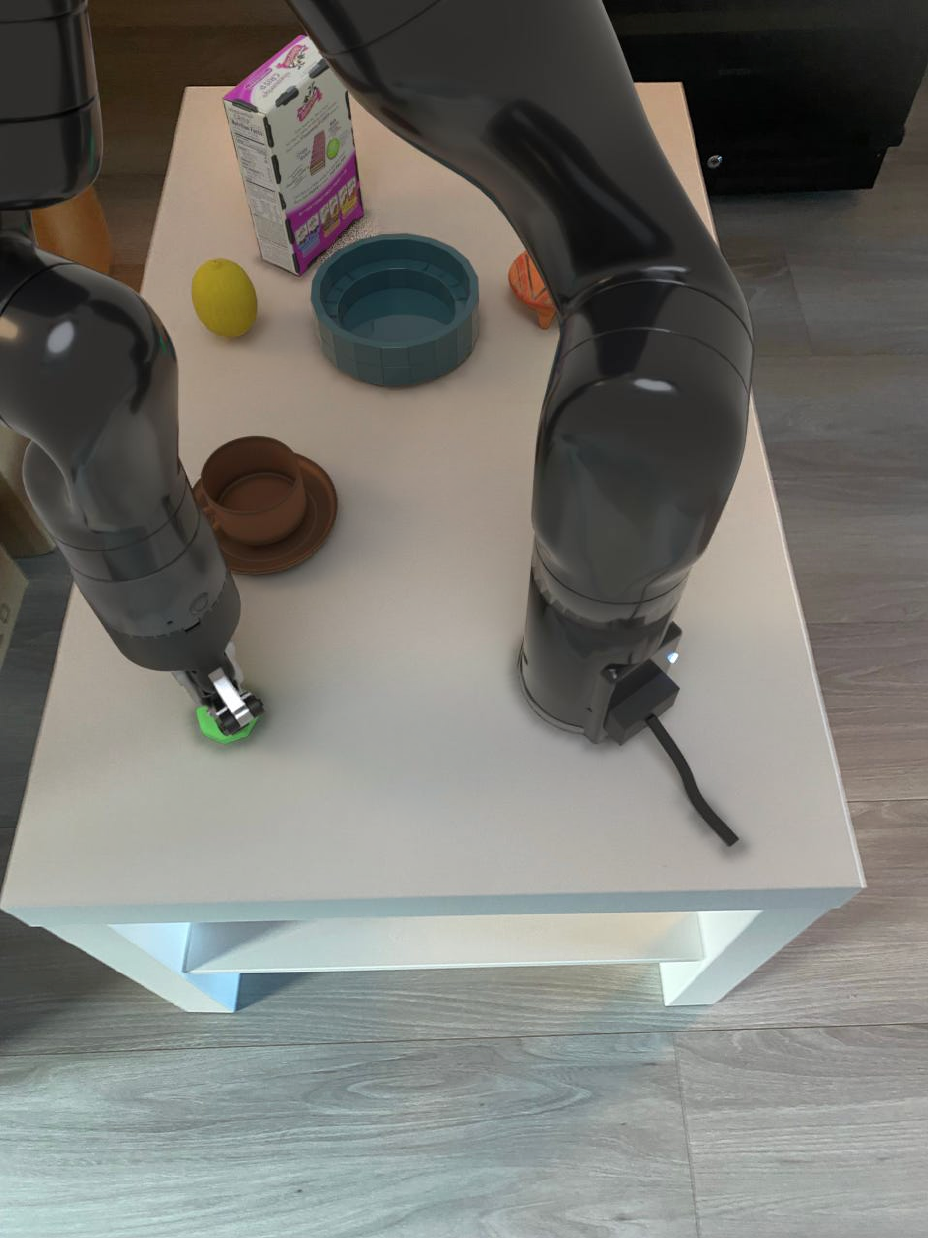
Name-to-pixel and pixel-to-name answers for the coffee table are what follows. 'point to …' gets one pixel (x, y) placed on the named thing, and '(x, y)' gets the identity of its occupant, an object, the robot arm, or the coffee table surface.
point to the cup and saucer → (265, 504)
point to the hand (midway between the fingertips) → (225, 710)
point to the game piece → (213, 732)
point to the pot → (531, 288)
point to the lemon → (224, 297)
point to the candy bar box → (295, 155)
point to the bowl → (396, 308)
